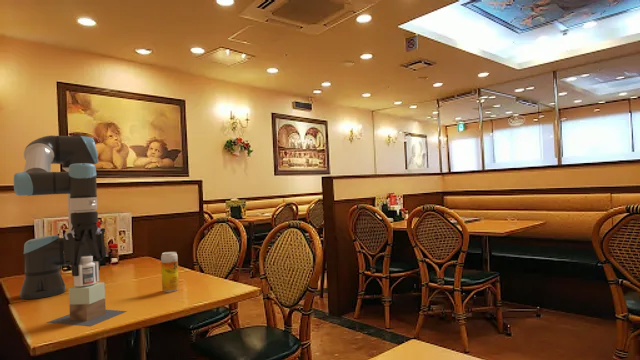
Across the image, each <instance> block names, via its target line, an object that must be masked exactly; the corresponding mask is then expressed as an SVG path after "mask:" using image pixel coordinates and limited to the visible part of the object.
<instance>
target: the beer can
mask: <svg viewBox="0 0 640 360" xmlns="http://www.w3.org/2000/svg"><path fill="white" fill-rule="evenodd" d="M178 259H179V258H178V254H177V251H165V252H162V253H161V256H160V263H161V286H162V287H161V288H162V291H163V292H164V293H174V292H176V291H178V290H179V288H180V286H179V285H180V284H179V283H180V282H179V261H178Z"/></svg>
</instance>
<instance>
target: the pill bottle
mask: <svg viewBox="0 0 640 360" xmlns="http://www.w3.org/2000/svg"><path fill="white" fill-rule="evenodd" d="M92 261H93V256H82V257H81V260H80V264H79V265H82V276H83V286H89V285H93V284H95V283H97V282H96V272H95V263H93V262H92Z"/></svg>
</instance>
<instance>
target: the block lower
mask: <svg viewBox="0 0 640 360" xmlns="http://www.w3.org/2000/svg"><path fill="white" fill-rule="evenodd" d="M68 306H69V314H70V320H80V321H88V320H91V319H93V318H96V317H99V316H101V315H104V314H106V310H107V307H106V297H105V298H103V299H101V300H99V301H96V302H94V303H91V304H69V305H68Z"/></svg>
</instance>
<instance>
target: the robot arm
mask: <svg viewBox="0 0 640 360" xmlns="http://www.w3.org/2000/svg"><path fill="white" fill-rule="evenodd" d="M24 148H25V149H24V151H23V158H24V160H25V165H24V169H23V171H22V172H15V173H14V174H13V190H14V194H15V195H16V196H19V197H21V196H27V197H31V196H32V197H33V196H50V195H67V207H68V208H67V212H68V214H67V215H68V229H67V230H66V231H65V232H64V233H63V234H62V237H60V236H59V235H58V234H51V235H46V236H40V237H36V238H31V239H29V240H27V241H26V242H24V245H23V255H24V279H23V283H22V285H21V288H20V291H19V298H20V299H22V300H35V299H43V298H48V297H53V296H56V295H61V294H63V293H64V292H66V291H67V290H66V284H65V282H64V278H63V277H62V274H61V269H60V268H61V267H62V266H70V267H71V275H72V277H73V287H74V286H83V276H82V265H79V264H80V260H81V257H82V256H93V261H92V262H93V263H95V272H96V283H99V282H100V270H101V261H103V259H104V258H106V247H105V232H106V228H105V227H98V224H97V223H98V222H99V220H98V219H99V215H98V214H99V213H98V211H96V210H98V195H97V193H98V191H97V174H98V173H97V169H96V165H97V164H98V163H99V155H98V150H97V145H96V142H95V140H94V138H93V137H91V136H83V135H46V136H42V137H39V138H37V139H35V140H32V141H31V142H29V143H28V144H27V145H26V147H24ZM53 164H54V165H55V164H56V165H61V166H62V167H61V168H62V170H64V171H52V170H51V169H52V165H53Z"/></svg>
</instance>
